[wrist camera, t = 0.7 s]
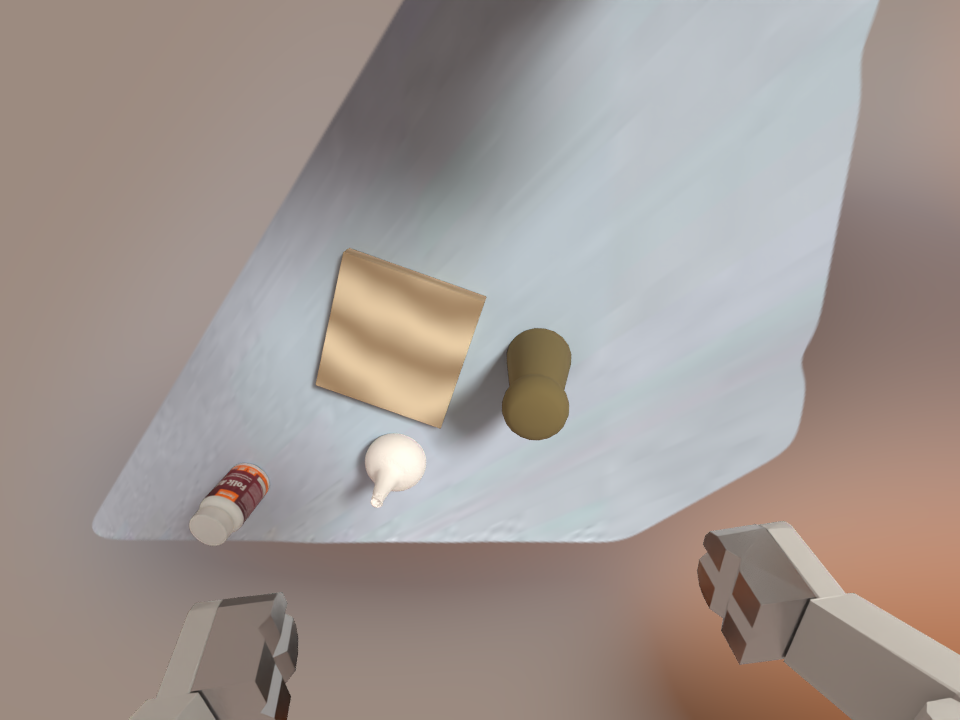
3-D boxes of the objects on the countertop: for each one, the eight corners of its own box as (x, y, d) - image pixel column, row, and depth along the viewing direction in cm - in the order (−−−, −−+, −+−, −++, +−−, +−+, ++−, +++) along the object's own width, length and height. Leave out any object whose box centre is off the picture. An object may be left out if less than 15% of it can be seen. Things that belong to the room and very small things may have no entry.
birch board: (349, 248, 48) (343, 251, 46) (486, 296, 48) (484, 301, 47) (321, 378, 54) (315, 384, 53) (443, 420, 54) (440, 428, 53)
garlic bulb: (411, 419, 55) (386, 459, 48) (439, 469, 57) (418, 514, 49) (362, 439, 57) (330, 480, 50) (390, 486, 59) (363, 533, 51)
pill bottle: (263, 460, 59) (220, 511, 52) (276, 494, 61) (236, 548, 54) (224, 462, 60) (177, 512, 53) (238, 496, 62) (195, 549, 55)
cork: (502, 380, 51) (489, 445, 42) (511, 323, 49) (500, 376, 39) (564, 391, 51) (566, 459, 41) (577, 334, 48) (583, 391, 39)
